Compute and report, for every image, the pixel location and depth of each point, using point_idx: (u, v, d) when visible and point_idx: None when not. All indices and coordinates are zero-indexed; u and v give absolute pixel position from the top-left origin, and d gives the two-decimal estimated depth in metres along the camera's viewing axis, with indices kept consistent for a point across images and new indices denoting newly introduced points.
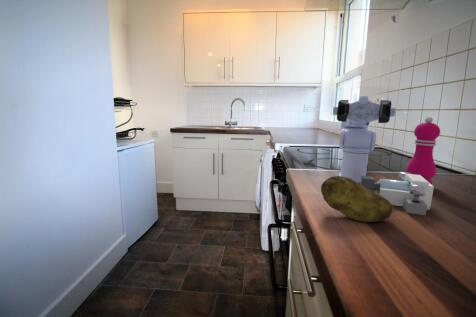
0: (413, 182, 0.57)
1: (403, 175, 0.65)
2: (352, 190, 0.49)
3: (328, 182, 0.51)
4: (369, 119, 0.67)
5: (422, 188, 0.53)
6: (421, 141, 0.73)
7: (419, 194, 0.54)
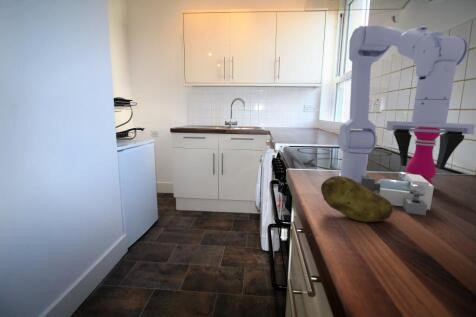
0: (413, 182, 0.57)
1: (403, 175, 0.65)
2: (352, 190, 0.49)
3: (328, 182, 0.51)
4: None
5: (422, 188, 0.53)
6: (421, 141, 0.73)
7: (419, 194, 0.54)
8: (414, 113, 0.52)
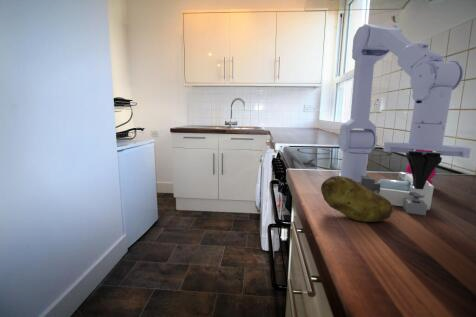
0: None
1: (403, 175, 0.65)
2: (352, 190, 0.49)
3: (328, 182, 0.51)
4: None
5: (422, 190, 0.53)
6: None
7: (419, 196, 0.54)
8: (410, 136, 0.53)
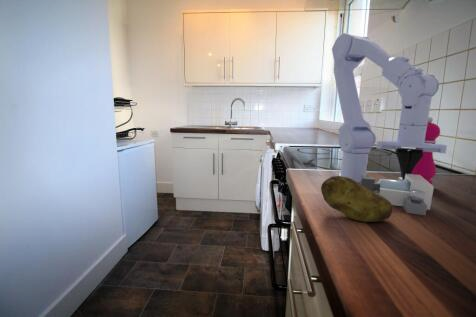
0: (413, 182, 0.57)
1: (402, 180, 0.65)
2: (352, 190, 0.49)
3: (328, 182, 0.51)
4: None
5: (421, 194, 0.54)
6: None
7: (418, 200, 0.54)
8: (398, 135, 0.64)
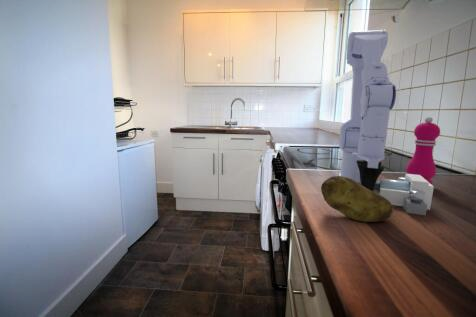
0: (413, 182, 0.57)
1: (402, 180, 0.65)
2: (353, 190, 0.49)
3: (328, 182, 0.51)
4: None
5: (421, 194, 0.54)
6: (421, 141, 0.73)
7: (418, 200, 0.54)
8: None
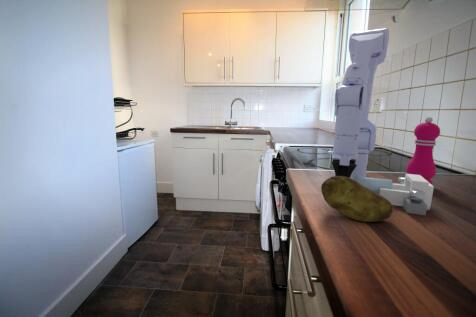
0: (413, 182, 0.57)
1: (402, 180, 0.65)
2: (353, 190, 0.49)
3: (328, 182, 0.51)
4: None
5: (421, 194, 0.54)
6: (421, 141, 0.73)
7: (418, 200, 0.54)
8: None
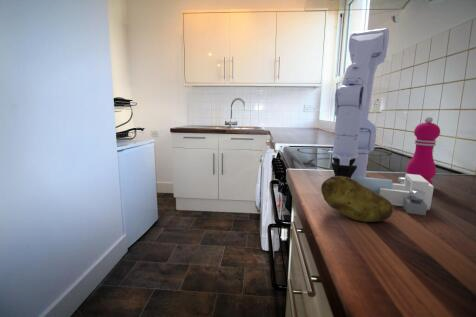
0: (413, 182, 0.57)
1: (402, 180, 0.65)
2: (353, 190, 0.49)
3: (328, 182, 0.51)
4: None
5: (421, 194, 0.54)
6: (421, 141, 0.73)
7: (418, 200, 0.54)
8: None
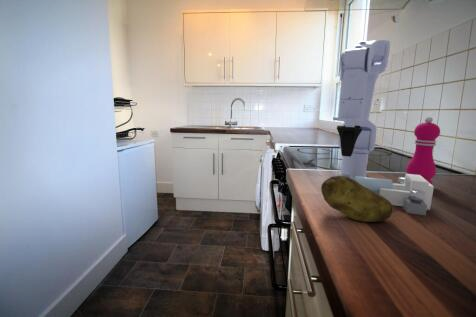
0: (413, 182, 0.57)
1: (402, 180, 0.65)
2: (353, 190, 0.49)
3: (328, 182, 0.51)
4: None
5: (421, 194, 0.54)
6: (421, 141, 0.73)
7: (418, 200, 0.54)
8: None
